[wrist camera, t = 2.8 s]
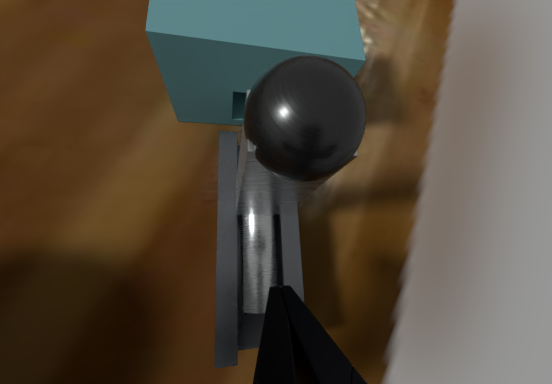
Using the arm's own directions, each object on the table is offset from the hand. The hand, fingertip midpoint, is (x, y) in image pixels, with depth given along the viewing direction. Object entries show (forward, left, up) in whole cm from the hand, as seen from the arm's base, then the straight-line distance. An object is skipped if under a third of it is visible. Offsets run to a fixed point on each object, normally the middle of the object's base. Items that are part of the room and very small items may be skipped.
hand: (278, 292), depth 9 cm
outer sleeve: (+3, -2, -8) cm, 9 cm away
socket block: (+14, -8, -8) cm, 18 cm away
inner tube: (+4, -2, -7) cm, 8 cm away
